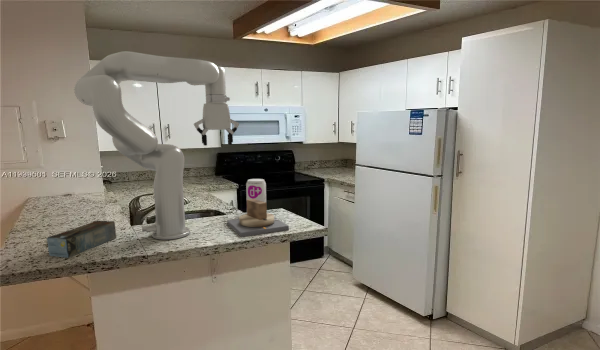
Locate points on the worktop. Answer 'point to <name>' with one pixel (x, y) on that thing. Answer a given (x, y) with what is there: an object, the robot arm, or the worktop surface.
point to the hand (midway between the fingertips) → (217, 144)
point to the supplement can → (256, 189)
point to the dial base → (249, 231)
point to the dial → (256, 214)
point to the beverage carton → (81, 238)
